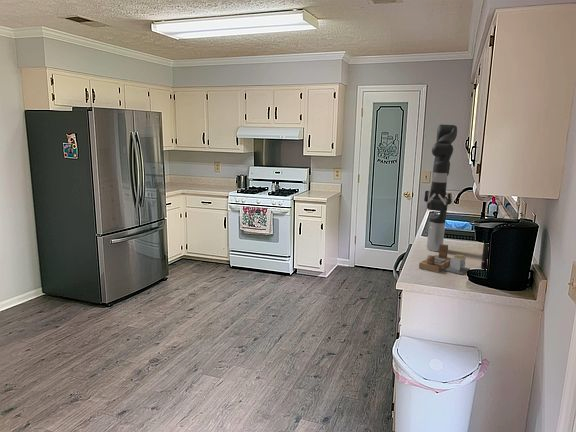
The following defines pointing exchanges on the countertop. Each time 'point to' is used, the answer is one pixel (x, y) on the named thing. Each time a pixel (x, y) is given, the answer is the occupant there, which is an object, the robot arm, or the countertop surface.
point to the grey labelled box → (457, 262)
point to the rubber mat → (457, 271)
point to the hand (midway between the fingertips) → (436, 210)
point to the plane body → (436, 260)
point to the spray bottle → (484, 256)
